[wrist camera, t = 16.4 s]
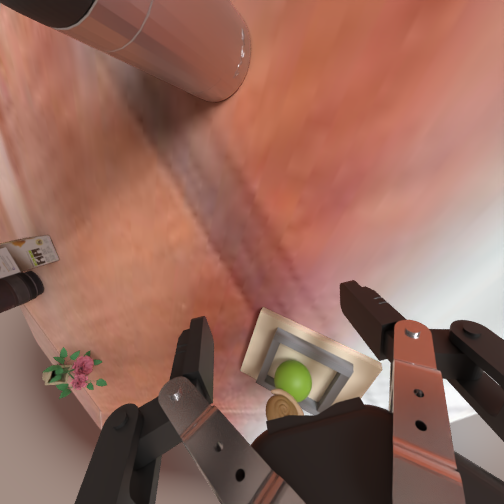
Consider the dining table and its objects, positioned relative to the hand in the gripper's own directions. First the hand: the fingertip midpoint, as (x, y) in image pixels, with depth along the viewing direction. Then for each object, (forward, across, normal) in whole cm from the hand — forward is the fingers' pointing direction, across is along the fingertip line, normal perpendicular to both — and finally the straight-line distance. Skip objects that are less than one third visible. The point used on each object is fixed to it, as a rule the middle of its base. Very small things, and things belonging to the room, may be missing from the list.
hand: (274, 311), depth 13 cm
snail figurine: (+14, -4, +24) cm, 28 cm away
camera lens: (+50, +57, +13) cm, 77 cm away
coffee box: (+46, +47, +4) cm, 66 cm away
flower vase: (+43, +52, +37) cm, 77 cm away
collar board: (+14, -4, +24) cm, 28 cm away
